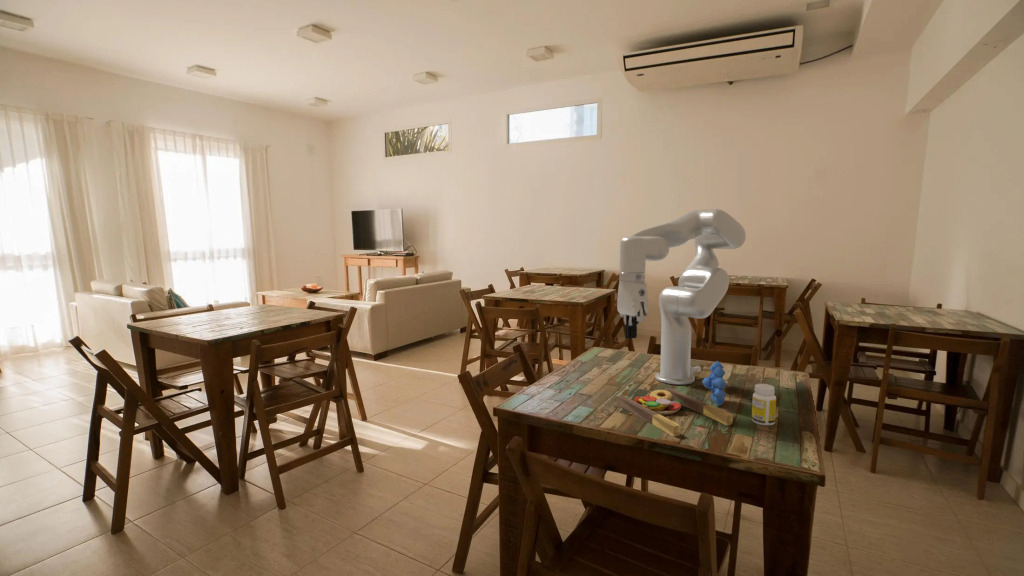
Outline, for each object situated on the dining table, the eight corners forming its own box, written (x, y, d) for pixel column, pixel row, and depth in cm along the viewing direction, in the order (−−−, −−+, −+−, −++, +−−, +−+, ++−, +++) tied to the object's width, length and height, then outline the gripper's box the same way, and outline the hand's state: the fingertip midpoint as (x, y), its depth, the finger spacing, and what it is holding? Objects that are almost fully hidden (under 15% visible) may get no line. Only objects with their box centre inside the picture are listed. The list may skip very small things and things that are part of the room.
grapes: (698, 395, 144) (699, 356, 143) (721, 396, 142) (723, 357, 141) (704, 408, 133) (705, 367, 131) (729, 410, 131) (731, 368, 130)
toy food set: (664, 398, 143) (664, 387, 142) (692, 413, 130) (693, 402, 130) (625, 402, 139) (625, 392, 139) (650, 419, 126) (650, 407, 126)
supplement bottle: (771, 418, 125) (773, 383, 124) (778, 426, 120) (780, 390, 119) (749, 417, 126) (750, 382, 125) (754, 425, 121) (756, 388, 120)
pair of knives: (669, 395, 144) (669, 387, 144) (732, 424, 122) (732, 414, 121) (616, 404, 137) (616, 396, 137) (673, 436, 115) (673, 426, 114)
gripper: (658, 279, 137) (656, 341, 139) (627, 275, 151) (626, 332, 153) (637, 280, 134) (635, 343, 136) (607, 276, 148) (606, 334, 150)
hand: (630, 337), depth 144 cm, fingers closed
